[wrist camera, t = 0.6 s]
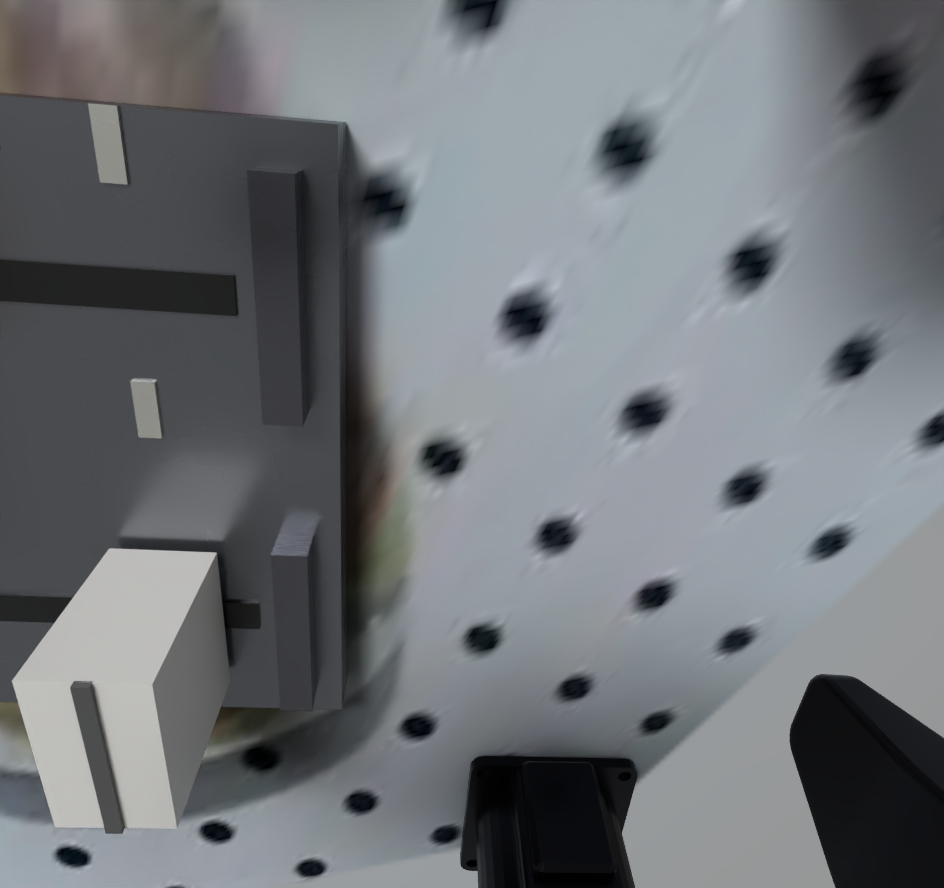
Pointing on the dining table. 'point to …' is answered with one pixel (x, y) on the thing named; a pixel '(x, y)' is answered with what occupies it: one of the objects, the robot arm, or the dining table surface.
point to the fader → (128, 690)
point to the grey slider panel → (177, 373)
